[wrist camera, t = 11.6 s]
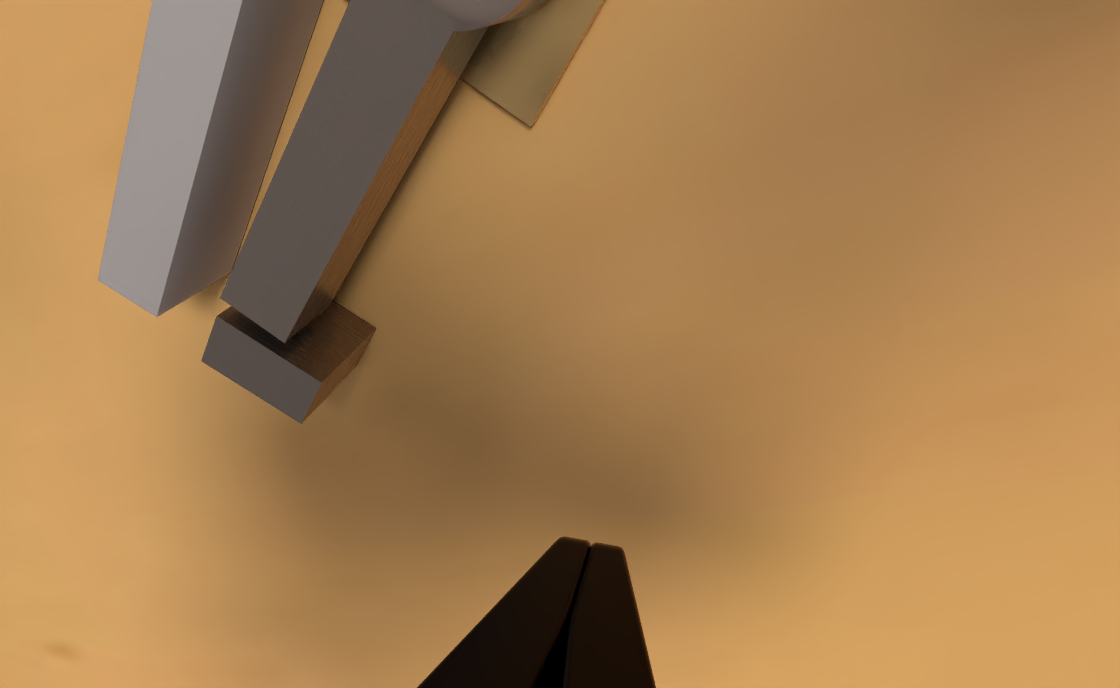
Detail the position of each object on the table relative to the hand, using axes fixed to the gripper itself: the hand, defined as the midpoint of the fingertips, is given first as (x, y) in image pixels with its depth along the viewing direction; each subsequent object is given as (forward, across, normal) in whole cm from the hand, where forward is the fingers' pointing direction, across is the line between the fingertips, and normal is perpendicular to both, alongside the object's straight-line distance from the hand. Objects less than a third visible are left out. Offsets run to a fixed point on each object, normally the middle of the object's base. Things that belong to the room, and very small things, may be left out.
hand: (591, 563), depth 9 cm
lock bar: (+11, +8, -3) cm, 14 cm away
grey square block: (+12, +12, +4) cm, 17 cm away
